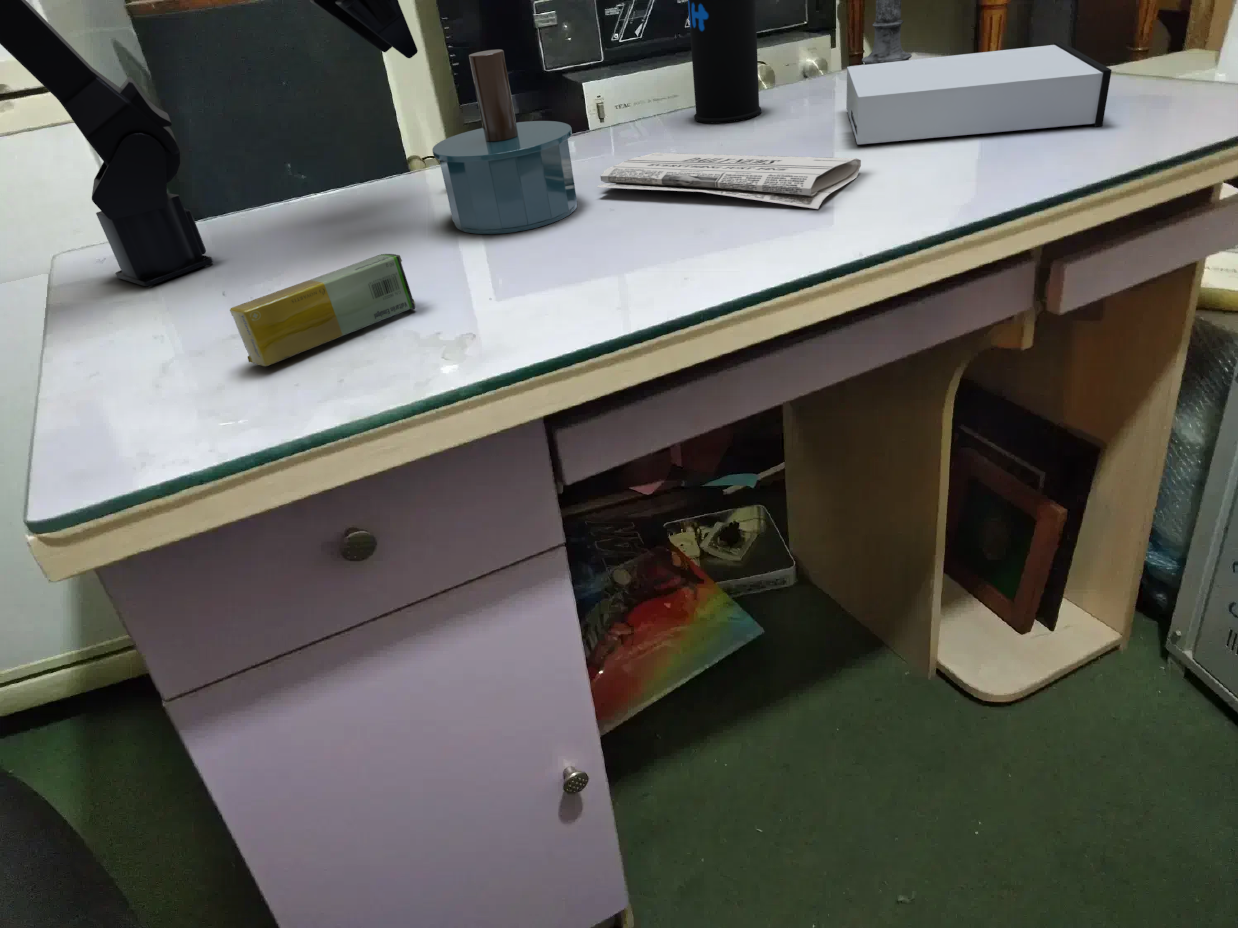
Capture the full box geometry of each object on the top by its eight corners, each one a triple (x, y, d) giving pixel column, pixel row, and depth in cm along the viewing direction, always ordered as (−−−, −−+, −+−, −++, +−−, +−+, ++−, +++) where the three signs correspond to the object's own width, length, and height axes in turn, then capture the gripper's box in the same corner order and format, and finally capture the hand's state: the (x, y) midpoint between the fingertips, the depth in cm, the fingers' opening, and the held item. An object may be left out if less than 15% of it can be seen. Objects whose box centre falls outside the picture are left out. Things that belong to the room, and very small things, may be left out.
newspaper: (590, 198, 83) (588, 170, 82) (661, 175, 92) (660, 150, 90) (810, 212, 71) (811, 180, 69) (869, 185, 79) (870, 156, 78)
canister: (515, 240, 75) (501, 164, 71) (429, 227, 82) (412, 157, 78) (602, 200, 82) (592, 129, 79) (516, 191, 89) (504, 126, 85)
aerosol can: (761, 105, 109) (755, -81, 99) (761, 119, 103) (754, -79, 92) (696, 112, 111) (683, -71, 100) (691, 126, 104) (677, -68, 94)
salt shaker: (902, 92, 106) (907, -20, 99) (854, 94, 108) (856, -15, 102) (916, 82, 110) (921, -26, 103) (869, 84, 112) (872, -22, 106)
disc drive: (1103, 126, 82) (1113, 68, 80) (857, 147, 87) (858, 94, 84) (1055, 90, 97) (1061, 41, 94) (846, 110, 101) (846, 64, 98)
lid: (502, 174, 71) (482, 67, 67) (406, 165, 79) (382, 68, 74) (601, 135, 79) (588, 37, 75) (505, 131, 86) (489, 41, 82)
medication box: (399, 304, 65) (383, 251, 63) (418, 307, 63) (402, 253, 62) (248, 363, 58) (225, 306, 57) (264, 369, 57) (241, 310, 55)
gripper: (381, -200, 65) (500, 0, 74) (333, -165, 79) (438, -2, 89) (264, -108, 64) (400, 82, 73) (237, -90, 78) (353, 66, 88)
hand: (400, 52), depth 81 cm, fingers open, 9 cm apart
